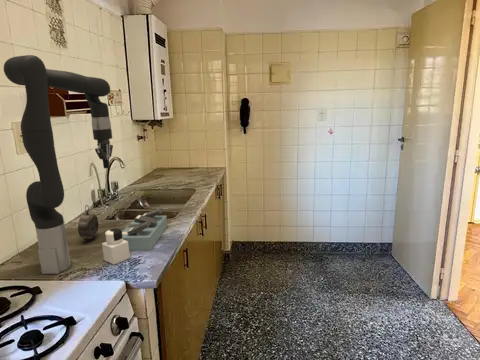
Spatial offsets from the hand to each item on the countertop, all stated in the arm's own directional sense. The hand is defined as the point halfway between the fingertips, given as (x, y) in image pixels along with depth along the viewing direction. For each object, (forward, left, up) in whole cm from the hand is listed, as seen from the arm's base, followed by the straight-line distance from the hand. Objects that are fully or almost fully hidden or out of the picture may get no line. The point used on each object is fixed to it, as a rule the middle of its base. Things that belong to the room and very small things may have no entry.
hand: (106, 167), depth 150 cm
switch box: (-2, -14, -32) cm, 35 cm away
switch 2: (-2, -16, -24) cm, 29 cm away
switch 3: (-11, -16, -24) cm, 30 cm away
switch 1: (+7, -16, -24) cm, 30 cm away
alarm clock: (-3, +10, -32) cm, 34 cm away
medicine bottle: (-23, -10, -32) cm, 41 cm away
